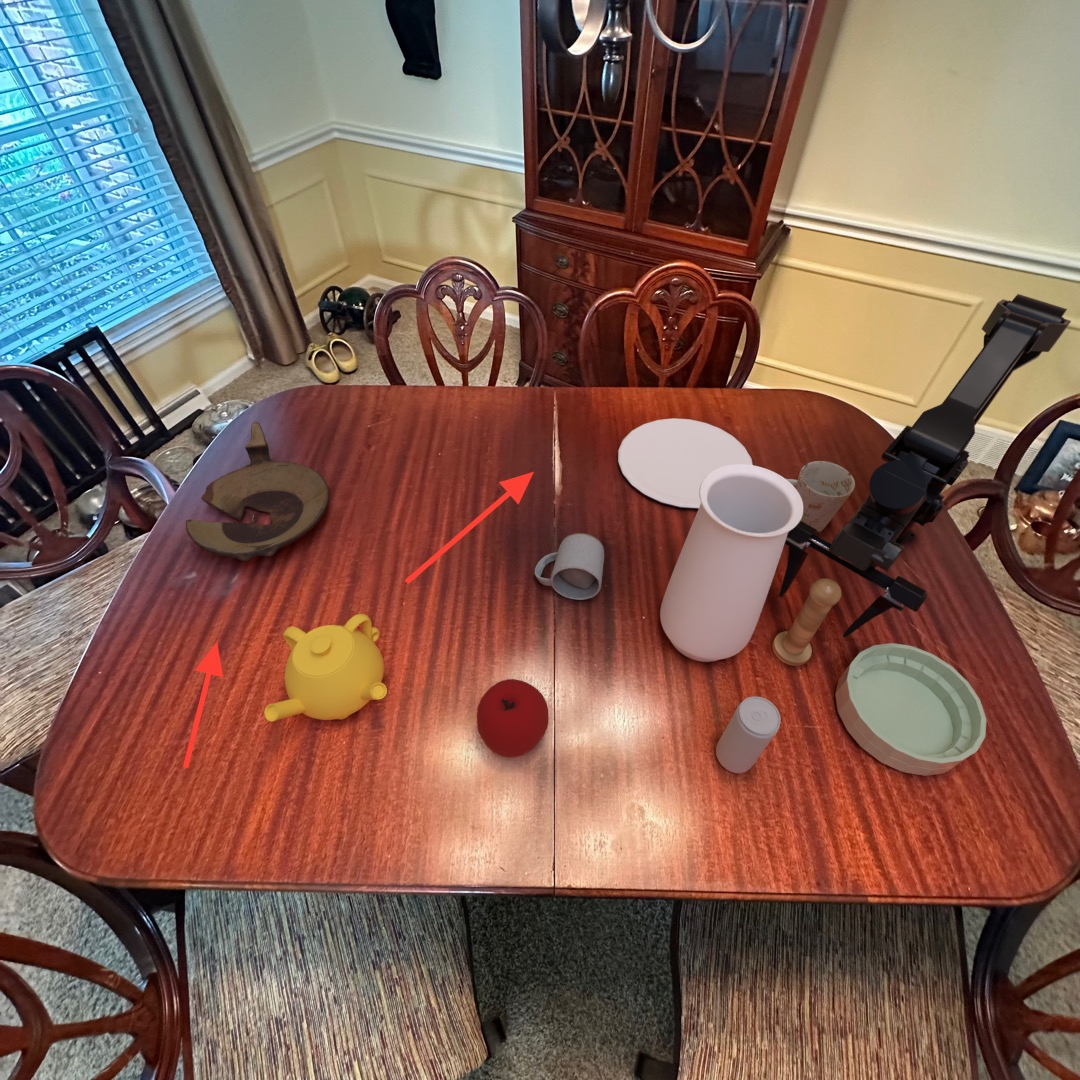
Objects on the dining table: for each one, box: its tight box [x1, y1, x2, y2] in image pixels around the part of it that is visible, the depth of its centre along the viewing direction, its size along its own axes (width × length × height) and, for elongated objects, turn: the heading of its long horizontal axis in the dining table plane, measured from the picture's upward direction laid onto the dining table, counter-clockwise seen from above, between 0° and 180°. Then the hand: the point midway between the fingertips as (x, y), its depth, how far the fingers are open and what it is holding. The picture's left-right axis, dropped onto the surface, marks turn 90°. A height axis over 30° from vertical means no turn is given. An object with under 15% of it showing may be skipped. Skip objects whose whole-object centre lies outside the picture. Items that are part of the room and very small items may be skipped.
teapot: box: [263, 613, 388, 722], centre depth 78 cm, size 14×14×11 cm
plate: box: [617, 418, 754, 510], centre depth 112 cm, size 25×25×1 cm
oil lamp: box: [185, 421, 330, 562], centre depth 102 cm, size 22×30×8 cm
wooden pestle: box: [771, 577, 842, 667], centre depth 81 cm, size 5×5×16 cm
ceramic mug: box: [534, 532, 605, 601], centre depth 92 cm, size 11×8×8 cm
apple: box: [476, 678, 550, 758], centre depth 75 cm, size 9×9×10 cm
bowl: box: [835, 642, 987, 777], centre depth 78 cm, size 16×16×5 cm
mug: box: [785, 460, 856, 533], centre depth 100 cm, size 8×13×10 cm, turn 78°
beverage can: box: [715, 695, 782, 774], centre depth 72 cm, size 5×5×12 cm
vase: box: [659, 464, 803, 663], centre depth 78 cm, size 13×13×28 cm
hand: (811, 616), depth 80 cm, fingers open, 9 cm apart
